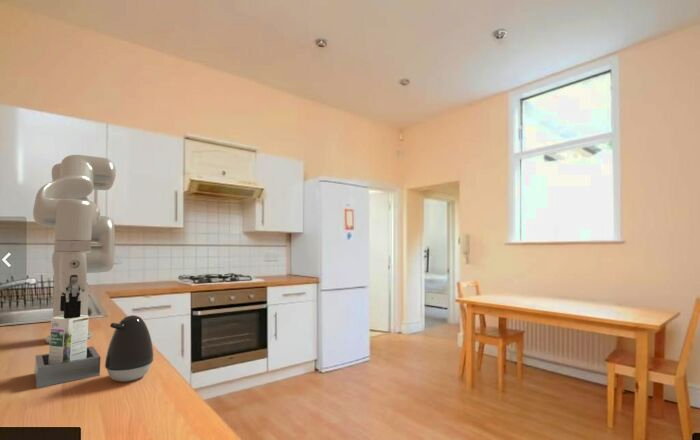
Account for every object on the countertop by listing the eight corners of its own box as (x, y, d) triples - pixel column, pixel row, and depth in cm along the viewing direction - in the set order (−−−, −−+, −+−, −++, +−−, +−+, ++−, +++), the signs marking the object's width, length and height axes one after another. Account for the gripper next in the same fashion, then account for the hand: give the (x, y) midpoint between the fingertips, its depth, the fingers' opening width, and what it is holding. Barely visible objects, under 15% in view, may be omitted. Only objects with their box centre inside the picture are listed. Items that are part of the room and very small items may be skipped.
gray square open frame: (34, 373, 92) (35, 355, 92) (92, 362, 100) (92, 346, 100) (36, 388, 83) (37, 368, 83) (99, 375, 91) (100, 356, 91)
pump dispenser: (93, 382, 86) (96, 318, 87) (132, 368, 96) (135, 310, 97) (124, 389, 83) (126, 321, 83) (162, 373, 92) (164, 313, 93)
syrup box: (46, 377, 89) (49, 317, 90) (69, 368, 95) (71, 313, 96) (64, 379, 88) (67, 318, 89) (87, 370, 94) (89, 314, 95)
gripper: (96, 248, 89) (92, 318, 89) (86, 245, 102) (83, 306, 102) (57, 249, 84) (53, 323, 84) (51, 245, 97) (48, 309, 97)
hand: (69, 313), depth 93 cm, fingers open, 9 cm apart
